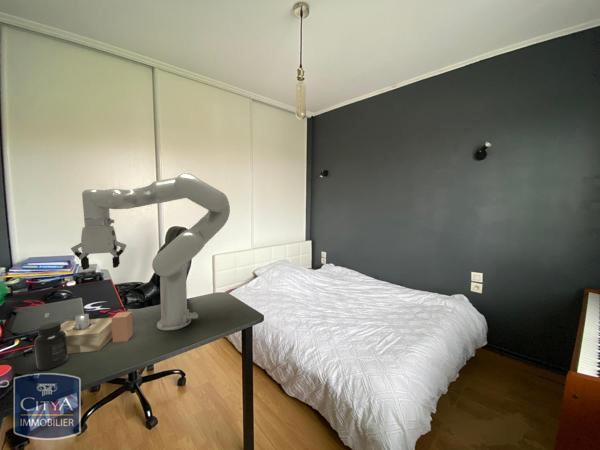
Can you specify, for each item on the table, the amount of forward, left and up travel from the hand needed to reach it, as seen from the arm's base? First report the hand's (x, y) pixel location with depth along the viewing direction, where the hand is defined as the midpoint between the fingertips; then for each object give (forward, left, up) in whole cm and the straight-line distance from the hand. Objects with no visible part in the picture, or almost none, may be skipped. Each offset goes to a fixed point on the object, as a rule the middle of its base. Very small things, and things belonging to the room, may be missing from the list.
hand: (101, 267), depth 96 cm
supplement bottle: (+4, +21, -25) cm, 32 cm away
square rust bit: (-10, +9, -24) cm, 28 cm away
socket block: (+2, +10, -24) cm, 26 cm away
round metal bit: (+2, +10, -24) cm, 26 cm away
